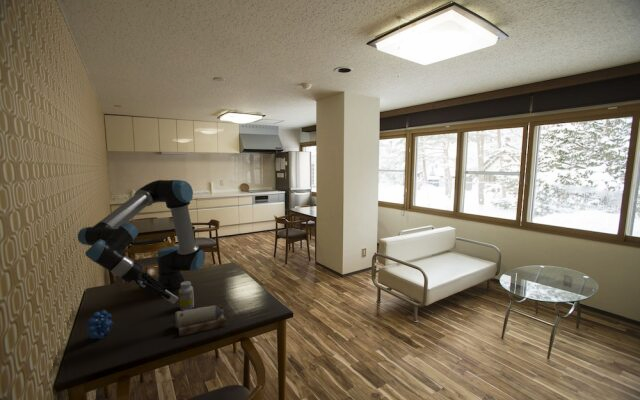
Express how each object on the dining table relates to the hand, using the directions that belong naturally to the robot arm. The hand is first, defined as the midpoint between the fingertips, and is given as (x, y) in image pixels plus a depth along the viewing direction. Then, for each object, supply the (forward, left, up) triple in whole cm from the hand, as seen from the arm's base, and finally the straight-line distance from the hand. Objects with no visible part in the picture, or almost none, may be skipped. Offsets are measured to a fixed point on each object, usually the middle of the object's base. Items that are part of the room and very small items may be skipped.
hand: (175, 300), depth 125 cm
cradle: (+5, +8, -13) cm, 16 cm away
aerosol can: (0, -1, -9) cm, 9 cm away
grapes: (-20, -20, -13) cm, 31 cm away
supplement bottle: (-13, +14, -13) cm, 23 cm away
